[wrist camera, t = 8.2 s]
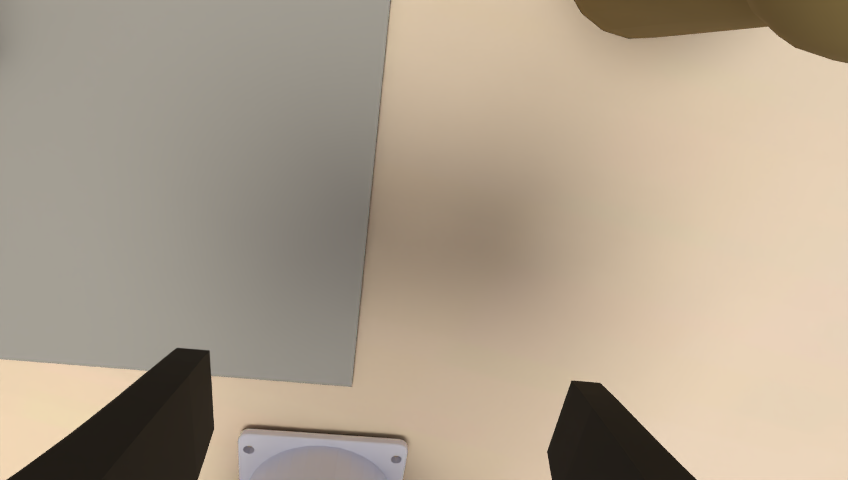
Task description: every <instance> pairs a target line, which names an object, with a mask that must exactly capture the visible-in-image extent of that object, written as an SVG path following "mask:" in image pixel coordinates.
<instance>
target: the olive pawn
mask: <svg viewBox="0 0 848 480" xmlns="http://www.w3.org/2000/svg"><path fill="white" fill-rule="evenodd" d="M574 1H575V3H576V4H577V6H578V8H579V9H580V11H581V13H582V14H583V15H584V16H586V17H587V18H588V19H589V20H591V21H592V22H593V23H594V24H596V25H597V26H598V27H599V28H600V29H602V30H603V31H606V32H609V33H612V34H615V35H619V36H622V37H625V38H628V39H632V38H653V37H665V36H675V35H686V34H696V33H706V32H717V31H727V30H737V29H747V28H758V27H769V28H770V29H771V30H772V31H774V32H775V33H776V34H777V35H778V36H779V37H781V38H782V39H784V40H785V41H786V42H788V43H789V44H791V45H792V46H794V47H795V48H798V49H801V50H804V51H807V52H810V53H813V54H816V55H819V56H822V57H825V58H828V59H831V60H835V61H840V62H845V63H848V0H574Z"/></svg>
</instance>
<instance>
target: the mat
mask: <svg viewBox="0 0 848 480" xmlns="http://www.w3.org/2000/svg"><path fill="white" fill-rule="evenodd" d="M389 9H390V0H0V359H6V360H18V361H31V362H44V363H56V364H69V365H82V366H94V367H107V368H120V369H132V370H145V371H149V370H150V369H151V368H152V367H153V366H155V365H156V364H157V363H158V362H159V361H161V360H162V359H163V358H164V357H166V356H167V355H168V354H169V353H171V352H172V351H173V350H175V349H176V348H187V349H199V350H210V365H211V376H221V377H234V378H246V379H259V380H272V381H284V382H297V383H310V384H322V385H335V386H348V387H352V378H353V368H354V358H355V348H356V338H357V328H358V318H359V308H360V298H361V288H362V278H363V268H364V258H365V248H366V238H367V228H368V218H369V208H370V198H371V188H372V178H373V168H374V158H375V148H376V138H377V128H378V119H379V109H380V99H381V89H382V79H383V69H384V59H385V49H386V39H387V29H388V19H389Z"/></svg>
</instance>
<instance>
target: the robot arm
mask: <svg viewBox="0 0 848 480" xmlns="http://www.w3.org/2000/svg"><path fill="white" fill-rule="evenodd" d="M213 430H214V419H213V401H212V383H211V365H210V350H199V349H187V348H176V349H175V350H173V351H172V352H171V353H169V354H168V355H167V356H166V357H164V358H163V359H162V360H161V361H159V362H158V363H157V364H156V365H155V366H153V367H152V368H151V369H150V370H149V371H148V372H146V373H145V374H144V375H143V376H142V377H140V378H139V379H138V380H137V381H136V382H134V383H133V384H132V385H131V386H129V387H128V388H127V389H126V390H125V391H123V392H122V393H121V394H120V395H119V396H117V397H116V398H115V399H114V400H112V401H111V402H110V403H109V404H107V405H106V406H105V407H104V408H102V409H101V410H100V411H99V412H97V413H96V414H95V415H94V416H92V417H91V418H90V419H88V420H87V421H86V422H85V423H83V424H82V425H81V426H80V427H78V428H77V429H76V430H74V431H73V432H72V433H71V434H69V435H68V436H67V437H65V438H64V439H62V440H61V441H60V442H58V443H57V444H56V445H54V446H53V447H52V448H50V449H49V450H47V451H46V452H45V453H43V454H42V455H41V456H39V457H38V458H37V459H35V460H34V461H32V462H31V463H30V464H28V465H27V466H26V467H24V468H23V469H22V470H20V471H19V472H17V473H16V474H14V475H13V476H11V477H10V478H9V479H7V480H198V477H199V474H200V471H201V468H202V465H203V462H204V459H205V456H206V453H207V449H208V446H209V443H210V440H211V437H212V434H213ZM248 446H251V447H248ZM407 453H408V446H407V443H406V442H405V441H403V440H401V439H391V438H377V437H363V436H348V435H334V434H320V433H305V432H291V431H277V430H262V429H245V430H243V431H242V432H241V433H240V436H239V439H238V458H239V480H403V476H404V470H405V465H406V459H407ZM547 453H548V459H549V465H550V471H551V476H552V480H696V479H695V478H694V477H693V476H692V475H691V474H690V473H689V472H688V471H687V470H686V469H685V468H684V467H683V466H682V465H681V464H680V463H679V462H678V461H677V460H676V459H675V458H674V457H673V456H672V455H671V454H670V453H669V452H668V451H667V450H666V449H665V448H664V447H663V446H662V445H661V444H660V443H659V442H658V441H657V440H656V439H655V438H654V437H653V436H652V435H651V434H650V433H649V432H648V431H647V430H646V429H645V428H644V427H643V426H642V425H641V424H640V423H639V422H638V420H637V419H636V418H635V417H634V416H633V415H632V414H631V413H630V412H629V411H628V410H627V409H626V408H625V407H624V406H623V405H622V404H621V403H620V402H619V401H618V400H617V399H616V398H615V397H614V396H613V395H612V394H611V393H610V392H609V391H608V390H607V389H606V388H605V387H604V386H603V385H602V384H601V383H594V382H582V381H571V384H570V387H569V390H568V393H567V396H566V398H565V401H564V404H563V407H562V410H561V413H560V416H559V419H558V422H557V425H556V428H555V431H554V433H553V436H552V439H551V442H550V445H549V448H548V451H547ZM395 456H398V457H395Z"/></svg>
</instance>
